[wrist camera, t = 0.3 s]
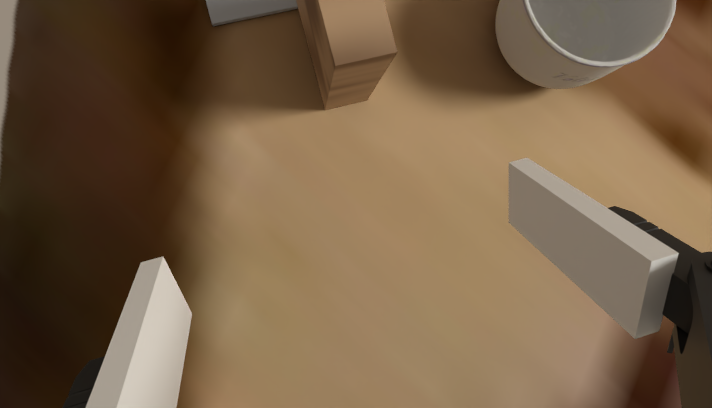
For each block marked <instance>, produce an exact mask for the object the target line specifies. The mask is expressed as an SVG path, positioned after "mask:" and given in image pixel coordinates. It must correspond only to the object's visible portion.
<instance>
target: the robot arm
mask: <svg viewBox="0 0 712 408" xmlns="http://www.w3.org/2000/svg"><path fill="white" fill-rule="evenodd" d="M509 223H510V224H511V225H512V226H513V227H514V228H515V229H516V230H517V231H519V232H520V233H521V234H522V235H523V236H524V237H525V238H526V239H527V240H528V241H529V242H530V243H532V244H533V245H534V246H535V247H536V248H537V249H538V250H539V251H540V252H541V253H542V254H543V255H545V256H546V257H547V258H548V259H549V260H550V261H551V262H552V263H553V264H554V265H555V266H557V267H558V268H559V269H560V270H561V271H562V272H563V273H564V274H565V275H566V276H567V277H568V278H570V279H571V280H572V281H573V282H574V283H575V284H576V285H577V286H578V287H579V288H580V289H581V290H583V291H584V292H585V293H586V294H587V295H588V296H589V297H590V298H591V299H592V300H593V301H594V302H596V303H597V304H598V305H599V306H600V307H601V308H602V309H603V310H604V311H605V312H606V313H607V314H609V315H610V316H611V317H612V318H613V319H614V320H615V321H616V322H617V323H618V324H619V325H620V326H622V327H623V328H624V329H625V330H626V331H627V332H628V333H629V334H630V335H631V336H632V337H633V338H635V339H636V338H639V337H642V336H645V335H648V334H651V333H654V332H657V331H659V330H660V326H661V322H662V318H663V315H664V316H666V317H667V318H668V319H669V320H671V321H672V322H673V323H674V328H673V332H672V335H671V339H670V343H669V346H668V351H667V352H668V353H672V352H673V348H674V350H675V358H676V366H677V374H678V382H679V389H680V397H681V405H682V408H712V252H704V253H701V252H699V251H697V250H696V249H694V248H692V247H691V246H689V245H687V244H686V243H684V242H682V241H680V240H679V239H677V238H675V237H674V236H672V235H670V234H669V233H667V232H665V231H664V230H662V229H658V227H657V226H655V225H654V224H652V223H650V222H647V220H645V219H644V218H642V217H640V216H639V215H637V214H635V213H634V212H631V211H628V210H625V209H622V208H619V207H616V206H614V207H610V208H606V207H605V206H603V205H602V204H600V203H598V202H597V201H595V200H594V199H592V198H590V197H589V196H587V195H586V194H584V193H583V192H581V191H579V190H578V189H576V188H575V187H573V186H571V185H570V184H568V183H567V182H565V181H563V180H562V179H560V178H559V177H557V176H556V175H554V174H552V173H551V172H549V171H548V170H546V169H544V168H543V167H541V166H540V165H538V164H536V163H535V162H533V161H532V160H530V159H529V158H524V159H520V160H517V161H513V162H509ZM191 317H192V312H191V311H190V309H189V307H188V305H187V303H186V301H185V299H184V297H183V295H182V293H181V291H180V289H179V287H178V285H177V283H176V281H175V279H174V277H173V275H172V273H171V271H170V269H169V267H168V265H167V263H166V261H165V259H164V257H159V258H156V259H152V260H148V261H145V262H141V264H140V266H139V269H138V271H137V274H136V277H135V279H134V282H133V285H132V287H131V290H130V292H129V295H128V298H127V300H126V303H125V306H124V308H123V311H122V313H121V316H120V319H119V321H118V324H117V327H116V329H115V332H114V334H113V337H112V340H111V342H110V345H109V348H108V350H107V353H106V355H105V356H104V357H101V358H98V359H94V360H91V361H89V362H88V363H87V365H86V366H85V367H84V368H83V369H82V371H81V372H80V373H79V374H78V376H77V377H76V378H75V381H74V383H73V385H72V387H71V390H70V392H69V394H68V395H69V397H68V398H67V399H66V401H65V404H64V406H63V408H176V406H177V400H178V394H179V389H180V383H181V377H182V371H183V365H184V359H185V353H186V347H187V341H188V335H189V329H190V323H191Z"/></svg>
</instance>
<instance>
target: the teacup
mask: <svg viewBox="0 0 712 408" xmlns="http://www.w3.org/2000/svg"><path fill="white" fill-rule="evenodd" d="M675 8H676V0H500V1H499V5H498V8H497V13H496V21H495V29H496V37H497V41H498V45H499V48H500V50H501V52H502V55H503V56H504V58H505V60H506V61H507V63H508V64H509V65H510V67H511V68H512V69H513V70H514V71H515V72H516V73H518V74H519V75H520V76H521V77H523V78H524V79H526V80H527V81H529V82H531V83H534V84H536V85H539V86H542V87H546V88H554V89H566V88H573V87H578V86H581V85H585V84H587V83H590V82H592V81H595V80H597V79H599V78H601V77H603V76H605V75H607V74H609V73H611V72H613V71H615V70H617V69H618V68H620V67H622V66H624V65H626V64H629V63H632V62H634V61H636V60H638V59H640V58H642V57H643V56H645V55H647V53H649V52H650V51H652V50H653V49H654V48H655V47H656V46H657V45H658V44H659V42H660V41H661V40H662V39H663V38H664V35H665V33H666V32H667V30H668V28H669V27H670V25H671V22H672V20H673V17H674V13H675Z"/></svg>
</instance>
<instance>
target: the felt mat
mask: <svg viewBox="0 0 712 408" xmlns="http://www.w3.org/2000/svg"><path fill="white" fill-rule="evenodd" d="M206 4H207V7H208V11H209V15H210V19H211V22H212V25H213V26H217V25H222V24H227V23H231V22H236V21H241V20H246V19H251V18H256V17H261V16H265V15H270V14H275V13H280V12H285V11H290V10H295V9H298V6H297V2H296V0H206Z"/></svg>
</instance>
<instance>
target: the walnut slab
mask: <svg viewBox="0 0 712 408" xmlns="http://www.w3.org/2000/svg"><path fill="white" fill-rule="evenodd" d="M296 2H297V6H298V9H299V13H300V17H301V21H302V25H303V28H304V32H305V36H306V40H307V44H308V47H309V51H310V55H311V59H312V63H313V67H314V70H315V74H316V78H317V82H318V86H319V89H320V93H321V97H322V101H323V105H324V108H325V110H328V109H332V108H337V107H341V106H345V105H349V104H353V103H358V102H362V101H366V100H368V98H369V96H370V95H371V93H372V92H373V90H374V89H375V87H376V85H377V84H378V82H379V81H380V79H381V77H382V76H383V74H384V73H385V71H386V69H387V68H388V66H389V65H390V63H391V61H392V60H393V58H394V57H395V55H396V53H397V49H396V45H395V41H394V37H393V33H392V29H391V25H390V21H389V17H388V13H387V9H386V5H385V1H384V0H296Z"/></svg>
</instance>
